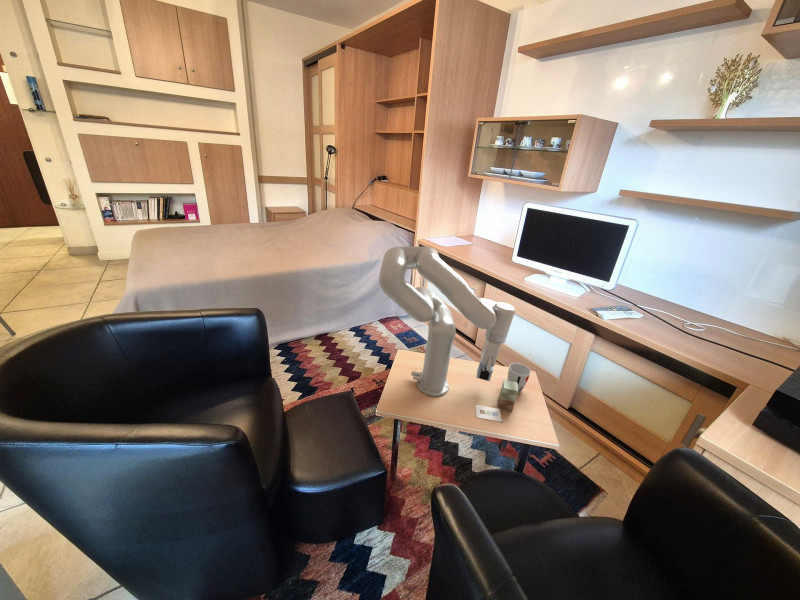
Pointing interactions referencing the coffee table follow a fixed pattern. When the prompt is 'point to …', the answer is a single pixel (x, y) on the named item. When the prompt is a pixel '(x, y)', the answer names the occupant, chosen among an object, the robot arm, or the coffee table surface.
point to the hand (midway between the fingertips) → (483, 374)
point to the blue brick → (482, 368)
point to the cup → (519, 374)
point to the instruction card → (488, 413)
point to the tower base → (505, 404)
